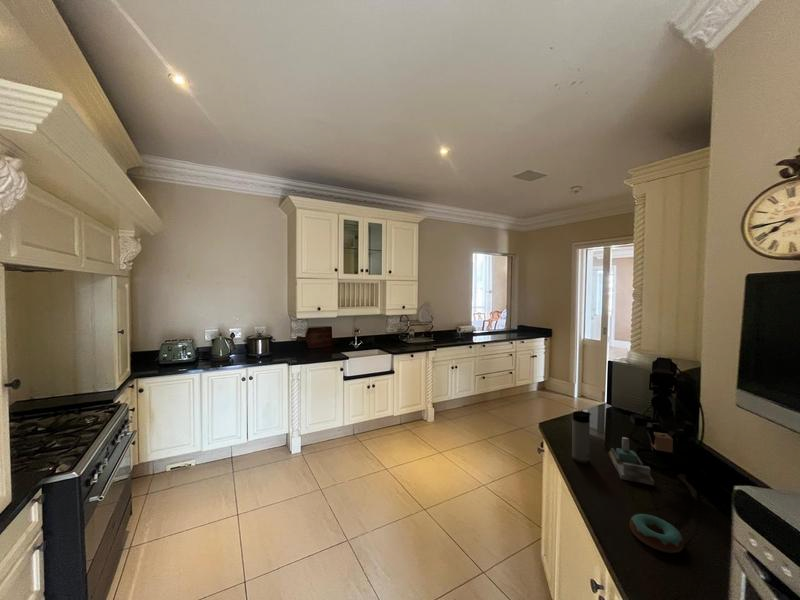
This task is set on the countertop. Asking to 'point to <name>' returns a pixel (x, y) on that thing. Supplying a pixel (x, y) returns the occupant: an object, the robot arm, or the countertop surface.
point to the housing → (663, 442)
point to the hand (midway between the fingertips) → (661, 445)
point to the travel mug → (580, 436)
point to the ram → (626, 452)
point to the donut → (656, 533)
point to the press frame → (631, 469)
